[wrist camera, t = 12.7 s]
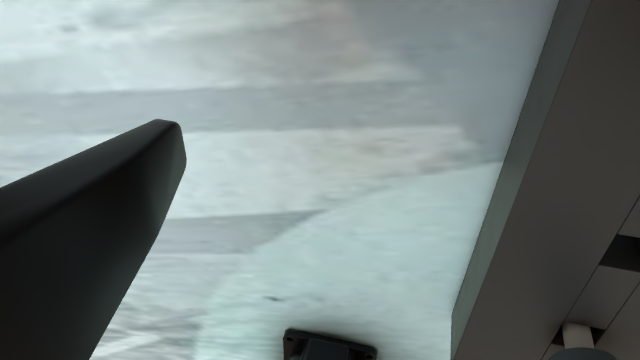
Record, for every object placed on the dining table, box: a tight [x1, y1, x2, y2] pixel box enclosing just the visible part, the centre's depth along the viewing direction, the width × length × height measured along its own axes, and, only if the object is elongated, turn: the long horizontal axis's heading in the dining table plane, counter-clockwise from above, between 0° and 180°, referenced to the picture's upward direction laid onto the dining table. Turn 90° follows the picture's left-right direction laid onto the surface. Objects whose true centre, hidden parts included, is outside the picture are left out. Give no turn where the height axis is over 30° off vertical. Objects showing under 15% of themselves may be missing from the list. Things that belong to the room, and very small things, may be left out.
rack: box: [450, 0, 640, 360], centre depth 21 cm, size 10×21×4 cm, turn 179°
